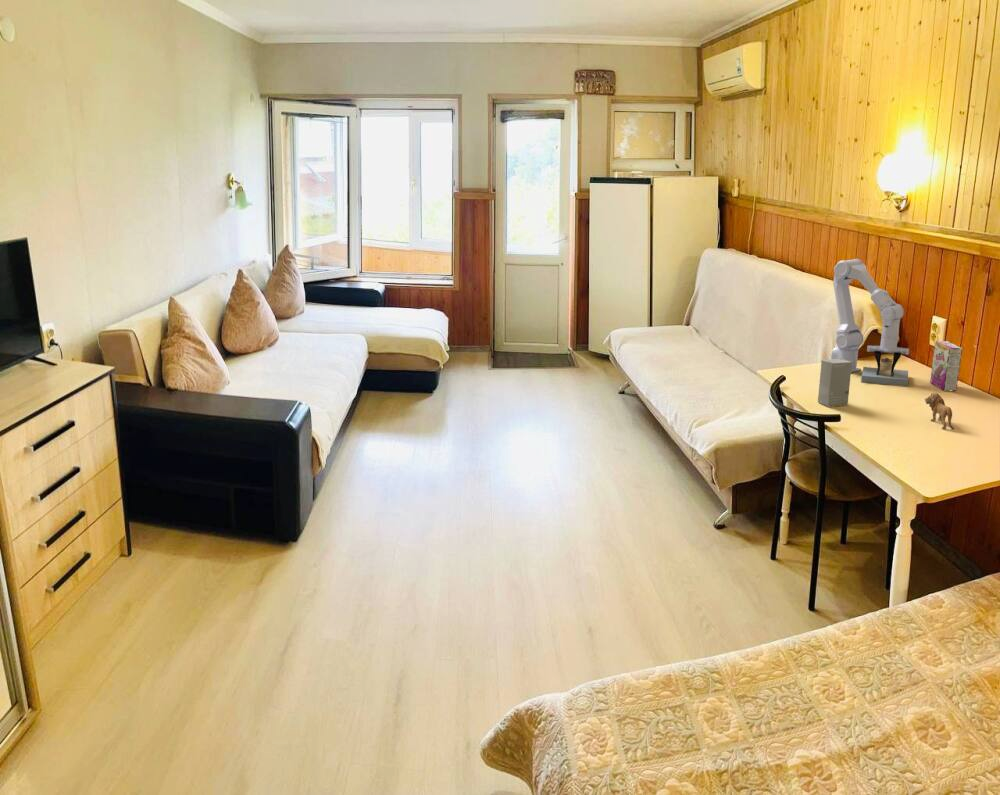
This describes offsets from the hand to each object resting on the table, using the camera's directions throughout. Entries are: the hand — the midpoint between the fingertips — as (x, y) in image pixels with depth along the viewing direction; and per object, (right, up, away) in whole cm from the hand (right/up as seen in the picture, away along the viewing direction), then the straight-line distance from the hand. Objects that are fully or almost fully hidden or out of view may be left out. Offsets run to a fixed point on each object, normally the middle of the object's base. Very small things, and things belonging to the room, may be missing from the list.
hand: (885, 370), depth 320 cm
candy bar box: (+17, -7, -10) cm, 21 cm away
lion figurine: (-5, -19, -48) cm, 52 cm away
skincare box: (-31, -13, -26) cm, 43 cm away
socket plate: (0, -3, +1) cm, 3 cm away
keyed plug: (0, -3, +1) cm, 3 cm away
